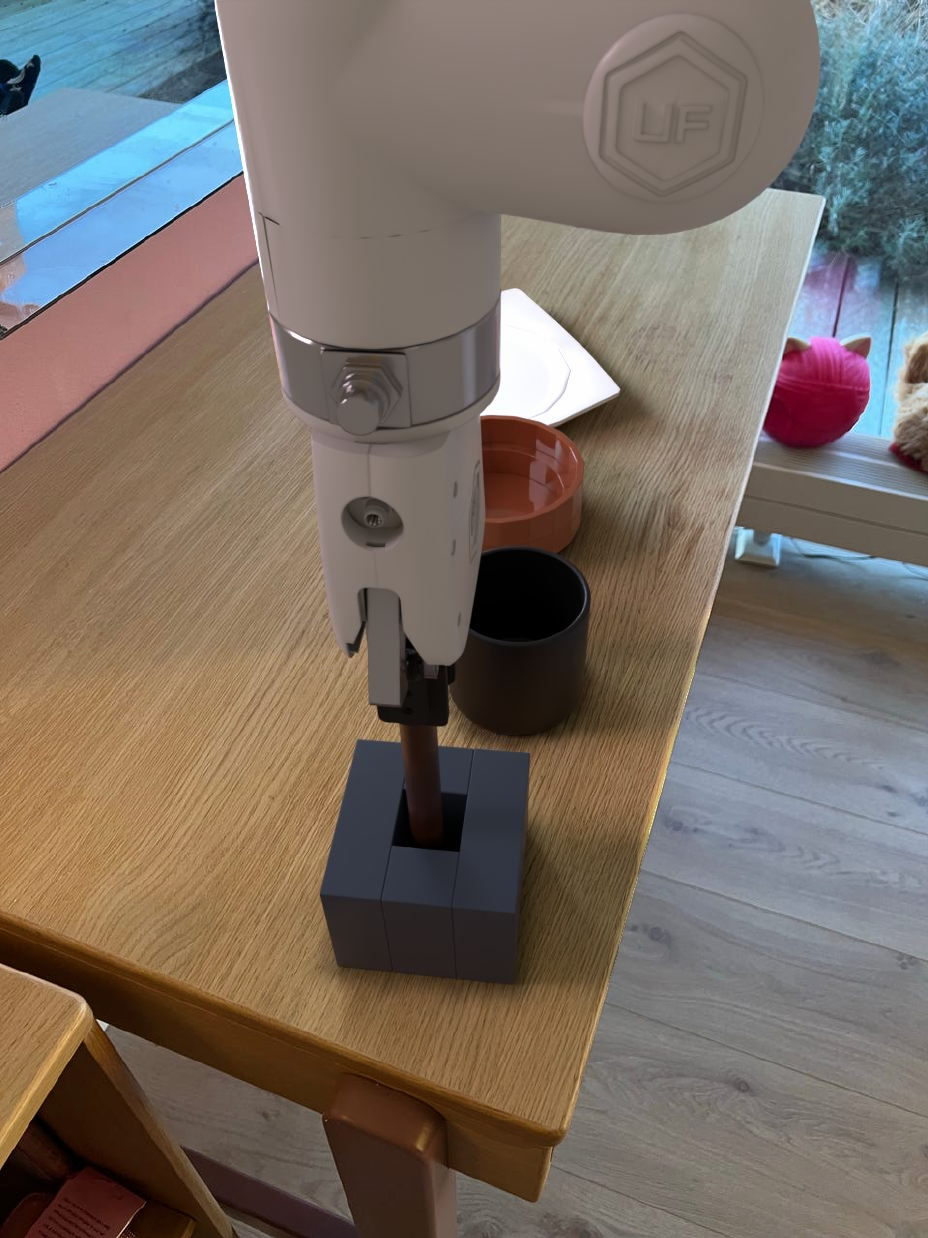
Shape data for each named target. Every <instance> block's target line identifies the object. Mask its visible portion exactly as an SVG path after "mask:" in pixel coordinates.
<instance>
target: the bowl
mask: <svg viewBox="0 0 928 1238" xmlns="http://www.w3.org/2000/svg"><path fill="white" fill-rule="evenodd" d="M480 420H481V441H482V461H483V478H484V495H485V527H484V536H483V544H482V550H481V552H484V551H487V550H489V549H494V548H498V547H505V546H529V547H536V548H541V549H544V550H548V551H551V552H553V553H556V554H558V553H559V552H560V551H562V550H563V549H565V548H566V547H567V546H568V545H570V544H571V542H572V541H573V539H574V537H575V535H576V534H577V532H578V530H579V528H580V526H581V516H582V503H583V491H584V477H585V475H584V474H585V460H584V458H583V457H582V454H581V451H580V450H579V447H578V445H577V444H576V443H575V442H573V441H572V440H571V439H570V438H569V437H568V436H567V435H565V434H564V432H563V431H560V430H558V429H557V428H555V427H554V428H552V427H550V426H548V425H546V424H544V423H542V422H539V421H535V420H531V419H526V418H522V417H518V416H505V415H484V416H480Z"/></svg>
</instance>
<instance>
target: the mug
mask: <svg viewBox="0 0 928 1238" xmlns="http://www.w3.org/2000/svg"><path fill="white" fill-rule="evenodd" d="M591 604H592V593H591V588H590V585H589V582H588V580H587V578H586V577H585V575H584V574H583V572H582V571H581V570H580V568H578V566H577V565H575V564H574V563H573V562H572V561H570V560H568V559H567V558H565V557H564V556H562V555H560V554H558V553H557V554H556V553H553V552H551V551H548V550H544V549H541V548H536V547H529V546H505V547H498V548H494V549H489V550H487V551H484V552H481V557H480V564H479V570H478V577H477V583H476V589H475V595H474V601H473V607H472V613H471V619H470V624H469V630H468V635H467V640H466V644H465V648H464V651H463V653H462V655H461V656H460V657H459V658H458V660H457V661H456V676H455V681H454V682H453V683H451V684H450V685H448V688H449V693H450V696H451V698H452V700H453V702H454V704H455V705H456V707H457V708H458V709H459V711H460V712H461V713H462V714H463V716H464V717H465V718H467V719H468V720H469V721H471V722H472V723H473V724H475V725H477V726H479V727H481V728H482V729H484V730H487V731H489V732H493V733H497V734H500V735H507V736H527V735H528V736H529V735H534V734H538V733H542V732H545V731H548V730H550V729H552V728H553V727H556V726H557V725H559V724H561V723H562V722H564V721H565V719H567V718H568V717H569V716H570V715H571V714H572V712H573V711H574V710H575V709H576V708H577V706H578V704H579V703H580V701H581V698H582V695H583V691H584V684H585V683H584V681H585V671H586V659H587V651H588V639H589V627H590V617H591V615H590V614H591V606H592V605H591Z"/></svg>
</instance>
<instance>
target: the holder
mask: <svg viewBox="0 0 928 1238" xmlns="http://www.w3.org/2000/svg"><path fill="white" fill-rule="evenodd" d="M438 749H439V764H440V780H441V795H442V810H443V825H444V841H445V843H444V847H443V849H442V850H430V849H419V848H413V846H412V839H411V829H410V820H409V811H408V802H407V793H406V783H405V774H404V765H403V756H402V746H401V741H387V740H376V739H375V740H374V739H363V738H357V739H356V742H355V746H354V749H353V750H354V751H353V753H352V758H351V762H350V767H349V771H348V775H347V780H346V784H345V788H344V792H343V796H342V799H341V804H340V807H339V812H338V816H337V820H336V824H335V828H334V833H333V836H332V841H331V844H330V849H329V853H328V857H327V859H326V861H327V862H326V865H325V869H324V873H323V877H322V881H321V885H320V889H319V899H320V902H321V906H322V910H323V914H324V919H325V922H326V926H327V931H328V934H329V939H330V942H331V946H332V950H333V953H334V957H335V962H336V966H338V967H343V968H352V969H353V968H354V969H364V970H373V971H381V972H390V973H391V972H394V973H400V974H411V975H421V976H429V977H438V978H439V977H440V978H446V979H447V978H449V979H457V980H466V981H476V982H487V983H496V984H505V985H514V984H515V978H516V977H515V976H516V967H517V966H516V965H517V955H518V952H517V951H518V943H519V932H520V920H521V912H522V911H521V909H522V897H523V886H524V876H525V875H524V874H525V864H526V863H525V862H526V855H527V854H526V853H527V851H526V850H527V841H528V829H529V828H528V827H529V826H528V825H529V804H530V803H529V801H530V800H529V799H530V795H529V794H530V776H531V775H530V773H531V752H525V751H514V750H502V749H501V750H500V749H488V748H472V747H459V746H450V745H449V746H448V745H438Z"/></svg>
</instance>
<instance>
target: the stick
mask: <svg viewBox="0 0 928 1238" xmlns="http://www.w3.org/2000/svg"><path fill="white" fill-rule="evenodd" d="M405 648H412V649H415V648H414V646H413V645H412V643H411V642H410V641H408V640H405ZM398 727H399V737H400V742H401V746H402V756H403V765H404V774H405V783H406V793H407V802H408V811H409V820H410V829H411V839H412V846H413V848H419V849H430V850H442V849H443V847H444V843H445V841H444V825H443V810H442V795H441V780H440V764H439V749H438V746H439V736H438V735H439V733H438V727H437V726H424V725H420V726H409V725H401V724H399V723H398Z"/></svg>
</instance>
